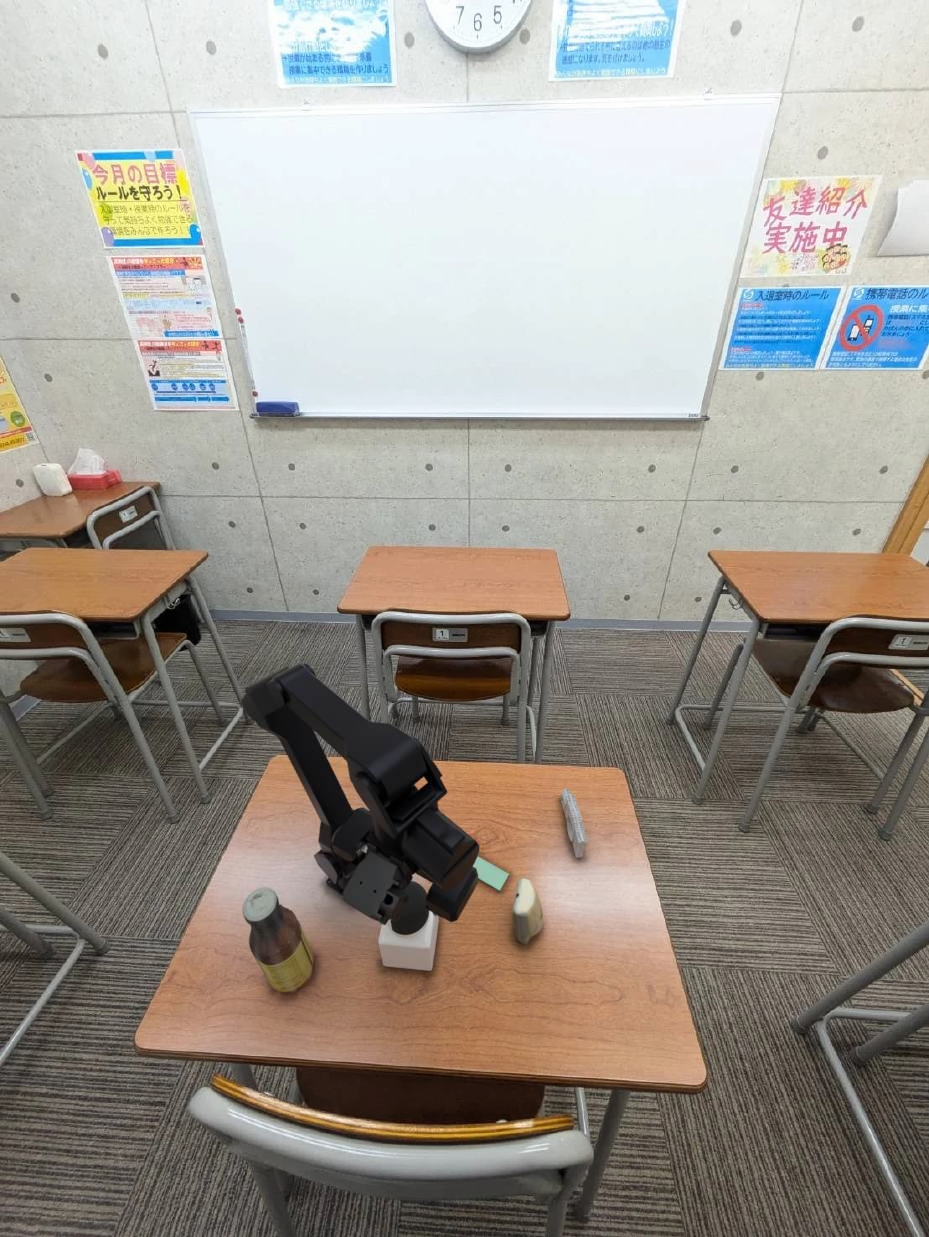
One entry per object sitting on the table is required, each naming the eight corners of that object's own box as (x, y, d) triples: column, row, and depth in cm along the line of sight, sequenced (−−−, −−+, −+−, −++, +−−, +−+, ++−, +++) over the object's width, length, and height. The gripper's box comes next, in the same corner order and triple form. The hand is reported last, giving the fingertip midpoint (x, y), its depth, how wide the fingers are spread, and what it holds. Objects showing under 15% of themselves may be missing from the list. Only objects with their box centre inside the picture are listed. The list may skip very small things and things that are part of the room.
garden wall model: (559, 799, 96) (562, 778, 93) (569, 799, 97) (572, 778, 93) (574, 860, 86) (578, 839, 83) (585, 859, 87) (589, 838, 83)
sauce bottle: (278, 947, 76) (245, 872, 65) (321, 948, 76) (294, 873, 65) (263, 999, 70) (223, 926, 59) (308, 1000, 70) (276, 928, 59)
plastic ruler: (423, 846, 89) (423, 845, 89) (433, 832, 91) (433, 831, 91) (499, 891, 82) (499, 890, 82) (509, 874, 85) (509, 873, 84)
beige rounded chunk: (501, 910, 80) (502, 882, 75) (532, 900, 81) (535, 871, 77) (515, 949, 75) (518, 921, 71) (548, 937, 77) (552, 908, 72)
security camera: (439, 919, 79) (435, 876, 72) (432, 972, 73) (427, 929, 66) (393, 915, 79) (385, 871, 73) (382, 966, 74) (373, 924, 67)
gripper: (289, 843, 58) (313, 913, 67) (427, 929, 51) (434, 996, 59) (353, 774, 66) (367, 845, 75) (480, 839, 59) (480, 909, 67)
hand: (407, 895), depth 69 cm, fingers open, 9 cm apart
